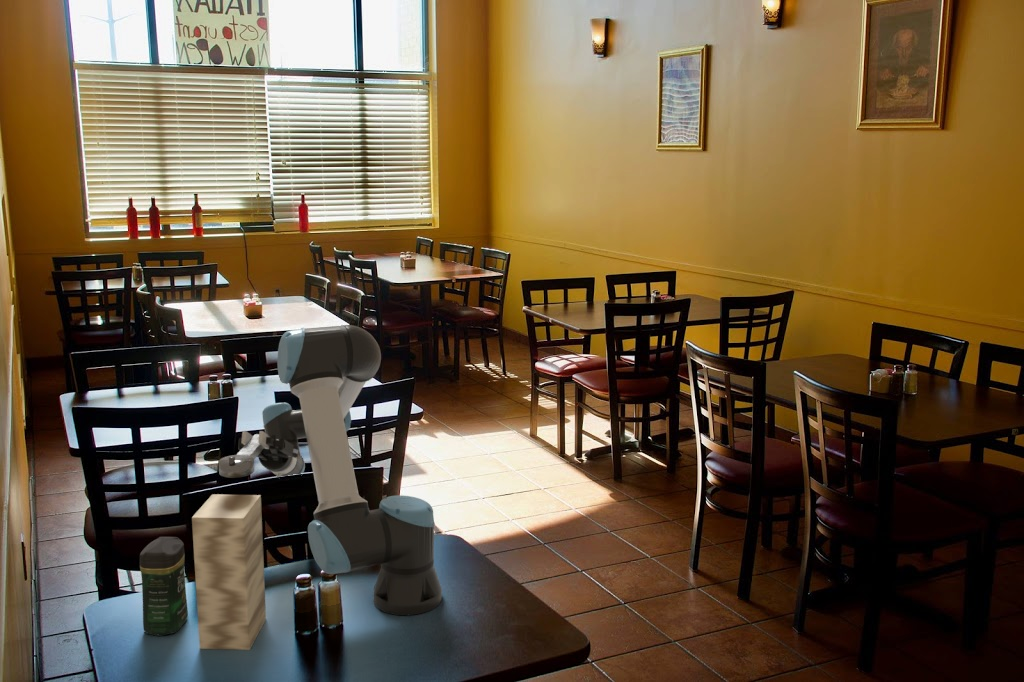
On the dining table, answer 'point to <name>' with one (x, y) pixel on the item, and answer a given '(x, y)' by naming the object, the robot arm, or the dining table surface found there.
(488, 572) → the dining table surface
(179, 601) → the coffee jar
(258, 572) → the birch pedestal
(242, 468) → the pin spanner
